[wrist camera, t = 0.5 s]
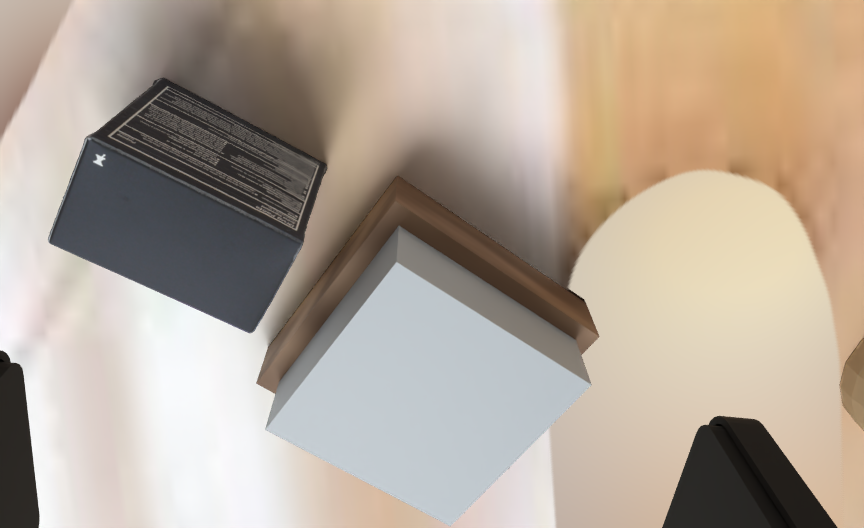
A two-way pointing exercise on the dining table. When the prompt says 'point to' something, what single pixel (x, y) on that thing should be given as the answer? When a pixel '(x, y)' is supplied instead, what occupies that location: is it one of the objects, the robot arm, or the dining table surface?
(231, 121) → the small box
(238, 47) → the dining table surface
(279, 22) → the dining table surface
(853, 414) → the tan wooden rounded piece
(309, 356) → the tower top
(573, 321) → the tower base
